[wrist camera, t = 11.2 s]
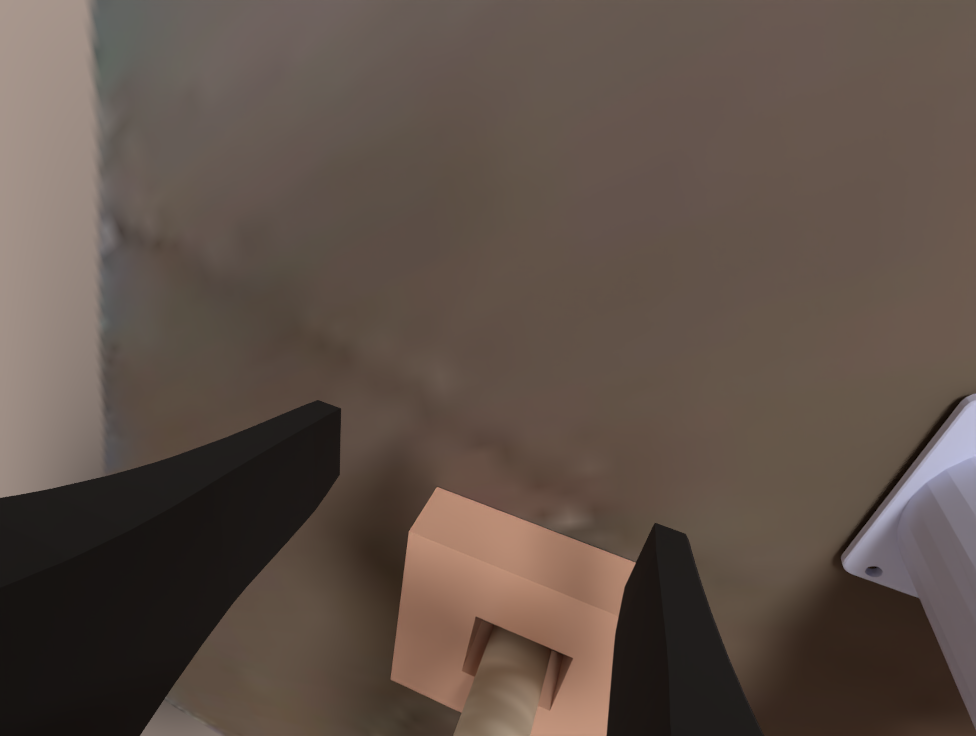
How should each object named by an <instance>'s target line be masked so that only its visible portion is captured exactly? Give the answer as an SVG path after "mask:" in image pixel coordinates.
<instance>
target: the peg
mask: <svg viewBox="0 0 976 736" xmlns="http://www.w3.org/2000/svg"><path fill="white" fill-rule="evenodd" d="M551 651H552V649H551V648H548V647H546V646H544V645H541V644H539V643H537V642H534V641H532V640H530V639H527V638H525V637H523V636H520V635H518V634H516V633H513V632H511V631H509V630H506V629H504V628H502V627H499V626H497V625H495V624H494V627H493V630H492V632H491V635H490V638H489V641H488V643H487V646H486V649H485V651H484V654H483V657H482V659H481V662H480V665H479V668H478V670H477V673H476V676H475V678H474V681H473V684H472V686H471V689H470V692H469V695H468V697H467V700H466V703H465V705H464V708H463V711H462V713H461V716H460V719H459V722H458V724H457V727H456V730H455V732H454V735H453V736H530V734H531V730H532V726H533V722H534V718H535V714H536V711H537V707H538V703H539V699H540V695H541V691H542V687H543V683H544V679H545V675H546V671H547V667H548V663H549V659H550V655H551Z"/></svg>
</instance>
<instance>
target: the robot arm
mask: <svg viewBox="0 0 976 736" xmlns="http://www.w3.org/2000/svg"><path fill="white" fill-rule="evenodd" d="M340 429H341V408H338V407H335V406H333V405H330V404H327V403H324V402H322V401H319V400H317V401H314V402H312V403H309V404H306V405H304V406H301V407H299V408H296V409H294V410H292V411H289V412H287V413H284V414H282V415H280V416H277V417H275V418H272V419H270V420H268V421H265V422H263V423H260V424H258V425H256V426H253V427H251V428H248V429H246V430H243V431H241V432H238V433H236V434H233V435H231V436H228V437H226V438H223V439H221V440H218V441H215V442H212V443H210V444H207V445H204V446H201V447H199V448H196V449H193V450H190V451H188V452H185V453H182V454H179V455H177V456H174V457H170V458H167V459H164V460H161V461H158V462H155V463H152V464H148V465H145V466H141V467H138V468H134V469H131V470H127V471H124V472H120V473H117V474H113V475H109V476H105V477H100V478H96V479H92V480H88V481H83V482H79V483H74V484H70V485H66V486H61V487H57V488H53V489H48V490H43V491H38V492H32V493H27V494H21V495H16V496H10V497H4V498H0V736H140V734H141V733H142V731H143V730H144V729H145V727H146V726H147V724H148V722H149V721H150V720H151V718H152V717H153V715H154V714H155V712H156V710H157V709H158V708H159V706H160V705H161V703H162V702H163V700H164V699H165V697H166V696H167V694H168V693H169V691H170V690H171V688H172V687H173V685H174V684H175V682H176V681H177V680H178V678H179V677H180V675H181V674H182V672H183V671H184V670H185V668H186V667H187V665H188V664H189V663H190V661H191V660H192V658H193V657H194V655H195V654H196V653H197V651H198V650H199V648H200V647H201V646H202V644H203V643H204V641H205V640H206V639H207V637H208V636H209V635H210V633H211V632H212V631H213V629H214V628H215V627H216V625H217V624H218V623H219V621H220V620H221V619H222V617H223V616H224V615H225V613H226V612H227V610H228V609H229V608H230V606H231V605H232V604H233V603H234V601H235V600H236V599H237V598H238V597H239V595H240V594H241V593H242V592H243V591H244V589H245V588H246V587H247V586H248V585H249V584H250V583H251V582H252V580H253V579H254V578H255V577H256V576H257V575H258V574H259V573H260V572H261V570H262V569H263V568H264V567H265V566H266V565H267V564H268V563H269V562H270V560H271V559H272V558H273V557H274V556H275V555H276V554H277V553H278V552H279V550H280V549H281V548H282V547H283V546H284V545H285V544H286V543H287V542H288V541H289V539H290V538H291V537H292V536H293V535H294V534H295V533H296V532H297V530H298V529H299V528H300V527H301V526H302V525H303V524H304V523H305V521H306V520H307V519H308V518H309V517H310V516H311V515H312V513H313V512H314V511H315V510H316V508H317V507H318V506H319V504H320V503H321V501H322V500H323V498H324V497H325V496H326V494H327V493H328V491H329V490H330V488H331V487H332V485H333V484H334V482H335V481H336V479H337V478H338V476H339V475H340ZM841 561H842V565H843V568H844V569H845V570H846V571H847V572H848V573H850V574H853V575H855V576H858V577H861V578H864V579H867V580H869V581H872V582H875V583H878V584H881V585H883V586H886V587H889V588H892V589H895V590H897V591H900V592H903V593H906V594H909V595H911V596H914V597H917V598H919V599H920V601H921V603H922V606H923V608H924V610H925V613H926V615H927V617H928V620H929V622H930V624H931V627H932V629H933V631H934V634H935V636H936V638H937V641H938V643H939V645H940V648H941V650H942V652H943V655H944V657H945V659H946V662H947V664H948V667H949V669H950V671H951V674H952V676H953V678H954V681H955V683H956V685H957V688H958V690H959V692H960V695H961V697H962V699H963V702H964V704H965V706H966V709H967V711H968V713H969V716H970V718H971V720H972V723H973V725H974V727H975V730H976V394H972V395H970V396H968V397H966V398H964V399H963V400H962V401H961V402H960V403H959V404H958V406H957V407H956V408H955V410H954V411H953V412H952V414H951V415H950V416H949V417H948V419H947V420H946V421H945V423H944V424H943V425H942V426H941V428H940V429H939V430H938V432H937V433H936V434H935V435H934V437H933V438H932V439H931V441H930V442H929V443H928V444H927V446H926V447H925V448H924V450H923V451H922V452H921V453H920V455H919V456H918V457H917V459H916V460H915V461H914V462H913V464H912V465H911V466H910V468H909V469H908V470H907V471H906V473H905V474H904V475H903V477H902V478H901V479H900V480H899V482H898V483H897V484H896V486H895V487H894V488H893V489H892V491H891V492H890V493H889V495H888V496H887V497H886V499H885V500H884V501H883V502H882V504H881V505H880V506H879V508H878V509H877V510H876V511H875V513H874V514H873V515H872V517H871V518H870V519H869V520H868V522H867V523H866V524H865V526H864V527H863V528H862V529H861V531H860V532H859V533H858V535H857V536H856V537H855V538H854V540H853V541H852V542H851V544H850V545H849V546H848V547H847V549H846V550H845V551H844V553H843V554H842V556H841ZM871 566H876V567H877V568H873V569H870V568H868V567H871ZM607 736H764V734H763V732H762V730H761V728H760V726H759V724H758V722H757V720H756V718H755V716H754V714H753V712H752V710H751V707H750V705H749V703H748V701H747V699H746V697H745V694H744V692H743V690H742V687H741V685H740V683H739V681H738V678H737V676H736V674H735V671H734V669H733V667H732V664H731V662H730V659H729V657H728V654H727V652H726V650H725V647H724V644H723V642H722V639H721V636H720V634H719V631H718V629H717V626H716V623H715V621H714V618H713V615H712V613H711V610H710V607H709V604H708V601H707V598H706V595H705V592H704V589H703V586H702V583H701V580H700V577H699V574H698V570H697V567H696V564H695V561H694V557H693V554H692V550H691V546H690V543H689V540H688V538H687V536H686V534H684V533H682V532H679V531H676V530H673V529H671V528H668V527H665V526H662V525H660V524H657V523H655V524H654V526H653V528H652V530H651V532H650V534H649V536H648V538H647V540H646V543H645V545H644V547H643V549H642V551H641V553H640V555H639V557H638V559H637V562H636V564H635V566H634V568H633V570H632V572H631V574H630V576H629V578H628V581H627V583H626V585H625V587H624V592H623V597H622V602H621V607H620V612H619V617H618V622H617V627H616V632H615V641H614V652H613V663H612V675H611V687H610V699H609V711H608V723H607Z"/></svg>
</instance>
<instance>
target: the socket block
mask: <svg viewBox="0 0 976 736" xmlns="http://www.w3.org/2000/svg"><path fill="white" fill-rule="evenodd" d="M635 564H636V563H635V562H632V561H630V560H627V559H625V558H622V557H619V556H617V555H614V554H611V553H609V552H606V551H604V550H601V549H598V548H596V547H593V546H591V545H588V544H585V543H583V542H580V541H577V540H575V539H572V538H570V537H567V536H564V535H562V534H559V533H556V532H554V531H551V530H549V529H546V528H543V527H541V526H538V525H536V524H533V523H530V522H528V521H525V520H522V519H520V518H517V517H515V516H512V515H509V514H507V513H504V512H502V511H499V510H496V509H494V508H491V507H488V506H486V505H483V504H481V503H478V502H475V501H473V500H470V499H467V498H465V497H462V496H460V495H457V494H454V493H452V492H449V491H447V490H444V489H441V488H439V487H437V488H436V489H435V491H434V493H433V494H432V496H431V497H430V499H429V501H428V502H427V504H426V505H425V507H424V508H423V510H422V512H421V513H420V515H419V516H418V518H417V519H416V521H415V523H414V524H413V526H412V527H411V529H410V530H409V535H408V543H407V551H406V559H405V567H404V575H403V583H402V592H401V600H400V608H399V616H398V624H397V632H396V640H395V648H394V656H393V664H392V672H391V680H393V681H395V682H397V683H399V684H401V685H403V686H406V687H408V688H410V689H412V690H414V691H416V692H418V693H420V694H423V695H425V696H427V697H429V698H431V699H433V700H435V701H437V702H440V703H442V704H444V705H446V706H448V707H450V708H452V709H454V710H457V711H459V712H461V713H462V711H463V708H464V705H465V703H466V700H467V697H468V695H469V692H470V689H471V686H472V684H473V681H474V678H475V676H476V673H477V670H478V668H479V665H480V662H481V659H482V657H483V654H484V651H485V649H486V646H487V643H488V641H489V638H490V635H491V632H492V630H493V627H494V625H492V624H495V625H497V626H499V627H502V628H504V629H506V630H509V631H511V632H513V633H516V634H518V635H520V636H523V637H525V638H527V639H530V640H532V641H534V642H537V643H539V644H541V645H544V646H546V647H548V648H551V649H553V650H555V651H558V652H560V653H562V654H563V655H562V654H560V653H557V652H555V651H553V650H552V651H551V655H550V659H549V663H548V667H547V671H546V675H545V679H544V683H543V687H542V691H541V695H540V699H539V703H538V707H537V711H536V714H535V718H534V722H533V726H532V730H531V734H530V736H607V723H608V711H609V699H610V687H611V675H612V663H613V652H614V641H615V632H616V627H617V622H618V617H619V612H620V607H621V602H622V597H623V592H624V587H625V585H626V583H627V581H628V578H629V576H630V574H631V572H632V570H633V568H634V566H635ZM482 619H483V620H485V621H488V622H490V623H492V624H490V623H487V622H485V621H483V620H482Z"/></svg>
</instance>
